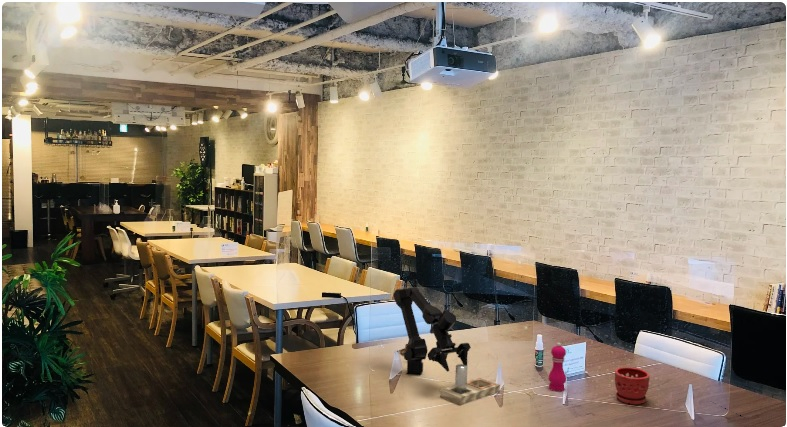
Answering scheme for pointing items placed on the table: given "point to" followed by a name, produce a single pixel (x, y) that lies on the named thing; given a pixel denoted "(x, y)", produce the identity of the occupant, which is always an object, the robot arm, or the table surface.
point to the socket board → (470, 391)
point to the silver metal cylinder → (461, 379)
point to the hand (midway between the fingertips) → (457, 369)
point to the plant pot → (631, 385)
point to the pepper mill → (557, 368)
